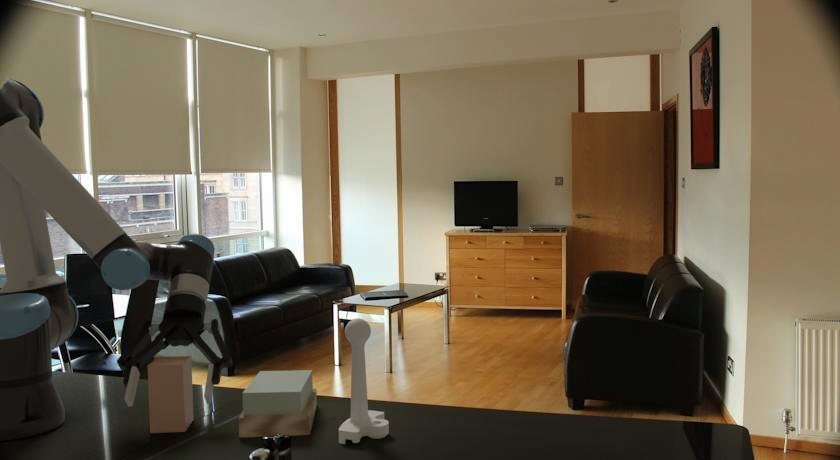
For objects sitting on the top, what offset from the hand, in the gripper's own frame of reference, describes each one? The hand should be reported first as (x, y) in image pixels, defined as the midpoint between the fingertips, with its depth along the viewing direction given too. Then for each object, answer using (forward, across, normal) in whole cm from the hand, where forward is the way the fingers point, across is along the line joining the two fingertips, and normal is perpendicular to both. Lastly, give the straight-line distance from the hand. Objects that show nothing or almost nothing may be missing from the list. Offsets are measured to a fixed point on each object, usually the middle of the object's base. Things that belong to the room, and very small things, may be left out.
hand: (168, 401), depth 123 cm
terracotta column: (+2, 0, -5) cm, 6 cm away
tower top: (-1, -19, -4) cm, 19 cm away
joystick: (+8, -35, 0) cm, 36 cm away
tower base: (+2, -19, -6) cm, 20 cm away
